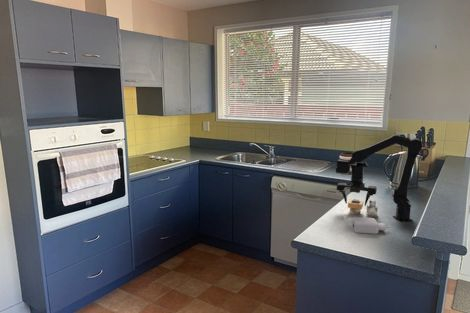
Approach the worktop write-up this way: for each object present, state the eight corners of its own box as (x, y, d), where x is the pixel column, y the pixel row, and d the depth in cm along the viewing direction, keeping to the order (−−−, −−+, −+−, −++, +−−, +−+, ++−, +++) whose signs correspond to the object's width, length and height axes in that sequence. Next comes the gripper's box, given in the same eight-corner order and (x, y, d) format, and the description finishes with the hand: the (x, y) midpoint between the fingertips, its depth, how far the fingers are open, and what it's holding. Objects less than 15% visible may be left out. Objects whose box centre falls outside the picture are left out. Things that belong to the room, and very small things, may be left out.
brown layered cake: (358, 174, 259) (359, 155, 257) (338, 173, 262) (339, 154, 260) (355, 169, 278) (356, 151, 276) (336, 168, 281) (336, 150, 279)
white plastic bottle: (391, 235, 145) (355, 233, 147) (386, 227, 154) (351, 225, 156) (392, 225, 144) (355, 223, 147) (386, 217, 153) (352, 216, 156)
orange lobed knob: (377, 214, 171) (378, 200, 170) (377, 217, 166) (378, 203, 165) (366, 212, 173) (367, 198, 172) (366, 216, 168) (366, 201, 167)
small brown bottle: (361, 212, 174) (361, 199, 173) (359, 215, 169) (360, 202, 168) (350, 210, 176) (351, 198, 175) (348, 213, 172) (349, 200, 171)
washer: (363, 205, 174) (363, 201, 173) (361, 209, 168) (361, 204, 168) (349, 203, 177) (349, 199, 176) (347, 207, 171) (348, 202, 170)
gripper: (335, 176, 167) (333, 206, 169) (376, 180, 158) (373, 212, 161) (339, 171, 176) (337, 200, 179) (377, 175, 168) (375, 205, 171)
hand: (355, 204), depth 172 cm, fingers open, 9 cm apart
